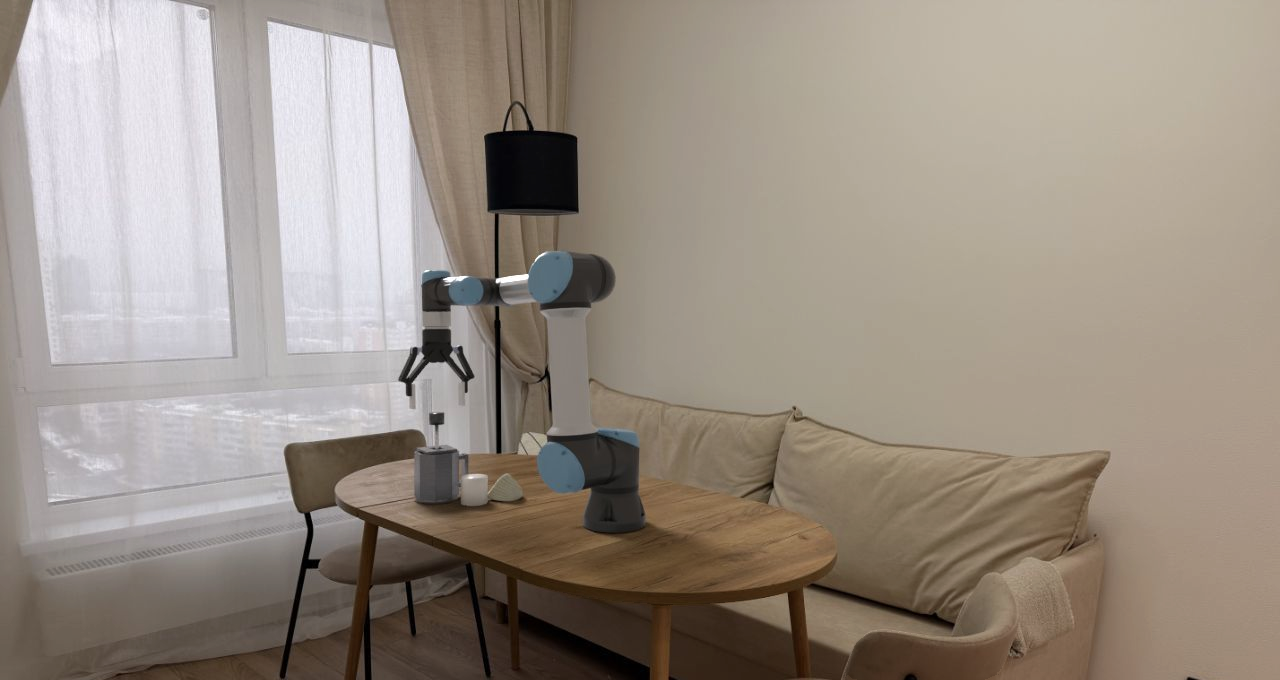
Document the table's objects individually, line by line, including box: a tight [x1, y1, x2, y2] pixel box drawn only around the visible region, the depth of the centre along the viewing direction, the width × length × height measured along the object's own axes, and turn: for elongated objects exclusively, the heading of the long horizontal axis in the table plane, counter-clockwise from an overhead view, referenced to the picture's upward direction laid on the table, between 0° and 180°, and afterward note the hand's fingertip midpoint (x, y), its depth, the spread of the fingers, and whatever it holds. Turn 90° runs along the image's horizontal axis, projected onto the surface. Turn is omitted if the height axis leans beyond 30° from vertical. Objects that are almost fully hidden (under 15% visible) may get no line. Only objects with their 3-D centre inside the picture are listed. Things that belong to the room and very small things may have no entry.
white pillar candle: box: [460, 473, 489, 507], centre depth 204 cm, size 7×7×7 cm
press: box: [413, 444, 469, 505], centre depth 208 cm, size 11×14×14 cm
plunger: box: [428, 411, 445, 455], centre depth 207 cm, size 8×8×19 cm
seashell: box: [488, 473, 524, 502], centre depth 209 cm, size 8×8×8 cm
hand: (437, 407), depth 206 cm, fingers open, 13 cm apart
